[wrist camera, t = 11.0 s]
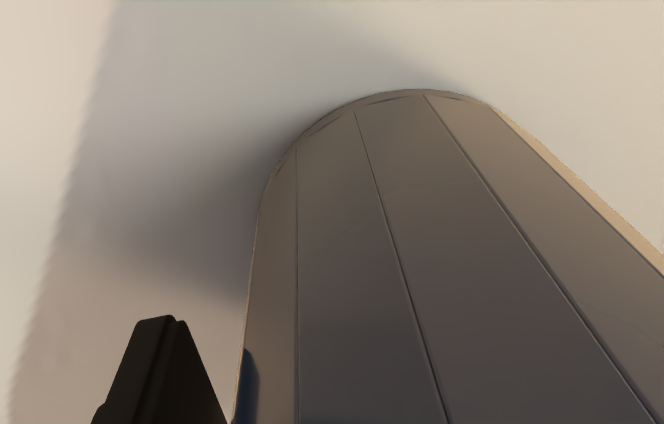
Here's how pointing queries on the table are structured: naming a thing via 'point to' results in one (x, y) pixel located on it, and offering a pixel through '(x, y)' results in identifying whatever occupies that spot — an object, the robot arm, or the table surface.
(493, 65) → the table surface
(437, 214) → the cup
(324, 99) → the table surface
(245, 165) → the table surface
